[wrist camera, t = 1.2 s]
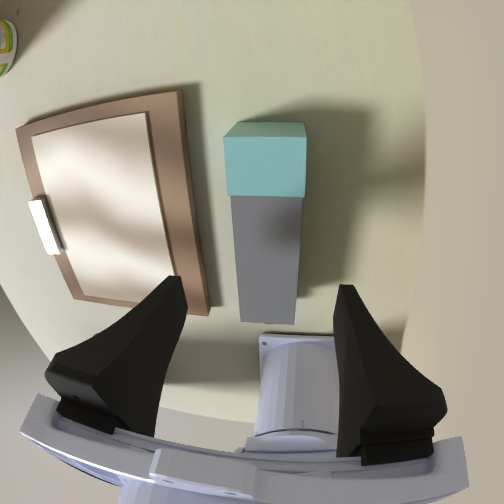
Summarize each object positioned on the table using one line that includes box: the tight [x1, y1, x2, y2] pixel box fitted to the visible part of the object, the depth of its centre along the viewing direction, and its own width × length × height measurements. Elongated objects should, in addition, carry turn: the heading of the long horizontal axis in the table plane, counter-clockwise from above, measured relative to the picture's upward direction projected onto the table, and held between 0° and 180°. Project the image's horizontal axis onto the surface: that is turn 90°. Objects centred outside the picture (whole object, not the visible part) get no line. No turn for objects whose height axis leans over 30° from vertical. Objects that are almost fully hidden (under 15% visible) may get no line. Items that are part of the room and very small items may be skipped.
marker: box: [223, 122, 307, 325], centre depth 19 cm, size 14×4×4 cm, turn 2°
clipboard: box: [16, 90, 211, 316], centre depth 21 cm, size 17×14×2 cm
